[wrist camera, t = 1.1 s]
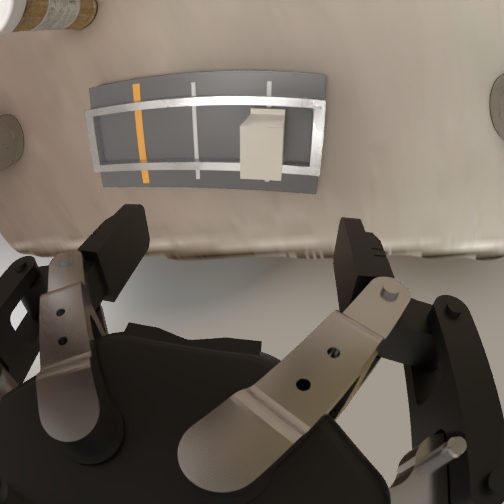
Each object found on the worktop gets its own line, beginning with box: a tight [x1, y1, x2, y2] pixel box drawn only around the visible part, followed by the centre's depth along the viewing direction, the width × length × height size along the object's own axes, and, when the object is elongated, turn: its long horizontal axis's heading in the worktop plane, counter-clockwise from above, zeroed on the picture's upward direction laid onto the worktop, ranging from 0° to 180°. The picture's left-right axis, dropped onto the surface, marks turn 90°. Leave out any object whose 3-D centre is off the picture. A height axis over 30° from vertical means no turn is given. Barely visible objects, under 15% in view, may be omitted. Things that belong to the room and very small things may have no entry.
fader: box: [240, 107, 285, 181], centre depth 23 cm, size 3×5×7 cm, turn 0°
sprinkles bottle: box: [0, 0, 97, 35], centre depth 15 cm, size 5×5×13 cm
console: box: [85, 70, 326, 194], centre depth 27 cm, size 24×12×3 cm, turn 90°
